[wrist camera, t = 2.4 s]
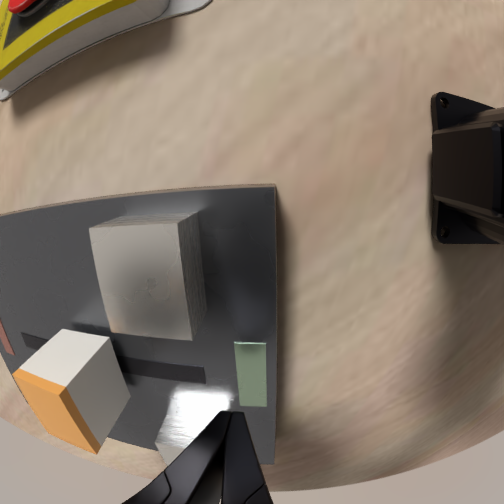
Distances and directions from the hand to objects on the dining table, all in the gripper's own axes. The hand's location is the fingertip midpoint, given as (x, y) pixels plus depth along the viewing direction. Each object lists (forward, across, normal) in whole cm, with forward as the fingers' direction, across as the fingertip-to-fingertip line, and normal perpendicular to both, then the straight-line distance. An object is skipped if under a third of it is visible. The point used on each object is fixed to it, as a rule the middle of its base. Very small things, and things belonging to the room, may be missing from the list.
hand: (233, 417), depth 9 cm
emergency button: (+5, +8, -20) cm, 22 cm away
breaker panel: (+4, +9, 0) cm, 10 cm away
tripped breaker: (+2, +7, 0) cm, 7 cm away
